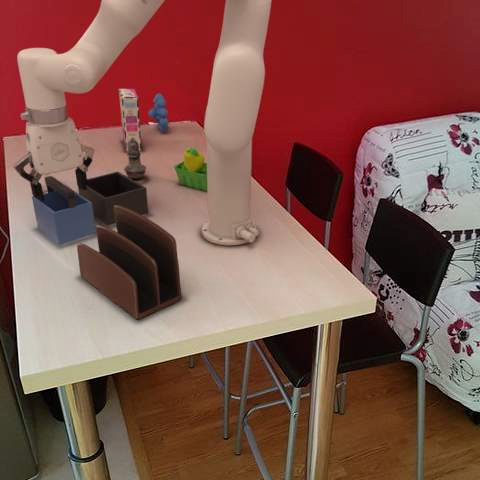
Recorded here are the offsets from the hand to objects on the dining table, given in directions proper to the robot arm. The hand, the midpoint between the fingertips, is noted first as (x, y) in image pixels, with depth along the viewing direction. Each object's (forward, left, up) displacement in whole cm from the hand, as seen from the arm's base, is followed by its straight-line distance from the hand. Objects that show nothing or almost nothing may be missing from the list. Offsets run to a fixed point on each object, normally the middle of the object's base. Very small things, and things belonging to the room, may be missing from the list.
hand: (61, 193), depth 124 cm
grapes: (+50, -57, -10) cm, 76 cm away
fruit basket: (+4, -39, -10) cm, 40 cm away
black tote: (+3, -13, -9) cm, 17 cm away
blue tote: (0, 0, -9) cm, 9 cm away
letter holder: (-29, +2, -10) cm, 31 cm away
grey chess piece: (+17, -28, -10) cm, 34 cm away
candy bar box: (+42, -42, -10) cm, 60 cm away
